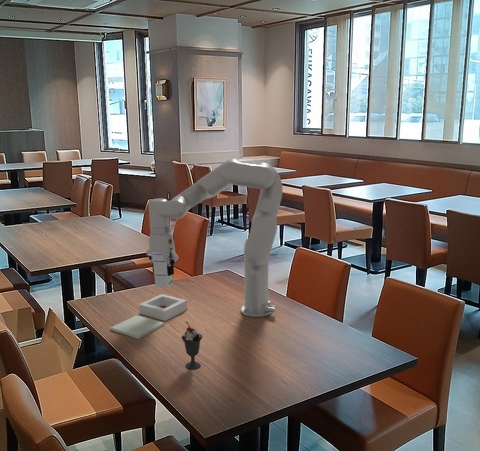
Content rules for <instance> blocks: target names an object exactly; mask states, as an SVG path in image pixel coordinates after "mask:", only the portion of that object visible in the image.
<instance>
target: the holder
mask: <svg viewBox="0 0 480 451" xmlns="http://www.w3.org/2000/svg"><path fill="white" fill-rule="evenodd" d="M138 305H139V306H138V307H139V308H138V310H139V315H143V316H147V317H150V318H152V319H153V318H154V319H158V320H159V321H160V320H161V321H163V322H164V321H165V322H166V321H168V320H170V319H171V318H174V317H175V316H177V315H179V314H181V313H184V312H185V311H187V310H188V300H187V299H183V298H178V297H175V296H171V295H168V294H163V293H161V294H159V295H156V296H154V297H152V298H150V299H147V300H146V301H143V302H141V303H139V304H138ZM162 306H164V307H165V308H163V307H162Z"/></svg>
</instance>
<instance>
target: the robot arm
mask: <svg viewBox="0 0 480 451" xmlns="http://www.w3.org/2000/svg"><path fill="white" fill-rule="evenodd" d="M231 185H234V186H238V187H247V188H252V189H260V193H259V196H258V201H257V205H256V207H255V211H254V214H253V216H252V218H251V227H250V230H249V234H248V237H247V239H246V240H245V241H244V246H243V256H244V261H243V262H244V263H243V264H244V305H242V307H241V308H240V312H241V314H243V315H244V316H246V317H251V318H263V317H267V316H270V315H271V314H273V313H274V314H275V313H276V312H277V306H276V305H272V304H271V300H269V257H270V255H271V252H272V248H273V245H274V241H275V238H276V236H277V230H278V223H277V218H278V217H277V216H278V215H279V214H278V213H279V210H280V206H281V202H282V198H283V182H282V179H281V176H280V174H279V173H278V172H277V170H276V169H275V168H274V167H273V166H272V164H269V163H267V162H259V163H257V164H251V163H244V162H241V161H240V160H238V159H237V158H229V159H227V160H226V161H224V162H223V163H221V164H220V165H218V166H217V167H215V168H214V169H213V170H212V171H210V172H208V173H207V174H206V175H204V176H202V177H201V178H200V179H198V180H196V182H194V183H193V184H191V185H190V186H189V187H187V188H186V189H184V190H183V191H181V192H180V193H179V194H177V195H176V196H174V197H173V198H172V199H171V200H167V199H166V198H154V199H153V198H152V199H150V200H149V201H148V212H149V216H148V217H149V229H150V234H149V239H148V240H149V241H148V243H149V244H148V245H149V246H148V247H149V249H148V250H147V251H146V252H145V253H146V256H148V259H149V260H150V263H151V266H152V267H151V268H152V273H153V274H154V266H153V255H152V253H153V252H160V253H161V254H162V257H163V258H164V259H165V260H167V264H168V266H167V274H168V276H170V275H173V276H174V274H175V267H174V266H175V264H176V263H177V261H178V260H179V258H180V256H179V255H178V254H177V253H176V247H175V246H176V245H175V240H174V237H173V234H172V233H171V232H172V228H171V227H170V219H174V220H177V219H178V220H179V219H182V218H184V217H185V216H186V214H187V213H188V211H189V210H191V209H192V208H194V207H195V206H197V205H198V204H200V203H201V202H203V201H204V200H207V199H212V198H214V197H215V196H217V195H218V194H220V193H222V191H224V190H226V189H227V188H229V187H230V186H231ZM169 259H170V261H171V262H170V261H169Z"/></svg>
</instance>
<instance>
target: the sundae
mask: <svg viewBox="0 0 480 451" xmlns="http://www.w3.org/2000/svg"><path fill="white" fill-rule="evenodd" d="M185 323H186V324H187V328H186V330H185V332H184V333H183V335H182V336H181V340H182V342H183V343H184V348H185V352H186V354H187V355H188V356H189V357H190V361H189V362H187V363H186V364H185V368H186V369H187V370H197V369H200V367H201V363H200V362H198V361H196V360H195V358H196V356H198V354H199V352H200V345H201V340H202V338H203V335H202V334H200V333H199V332H197V330H196V329H195V328H192V327H190V323H188V321H185Z"/></svg>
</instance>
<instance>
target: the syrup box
mask: <svg viewBox="0 0 480 451" xmlns="http://www.w3.org/2000/svg"><path fill="white" fill-rule="evenodd" d="M152 255H153V266H154V273H153V274H154V275H153V276H154V282H155V284H154V285H155V287H157V288H169V287H170V286H171V285H172V284H173V283H174V274H173V275H170V276H168V274H167V266H168V264H167V260H165V259H164V258H163V257H162V254H161V253H160V252H153V253H152ZM169 261H170V259H169ZM170 262H171V261H170Z"/></svg>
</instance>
